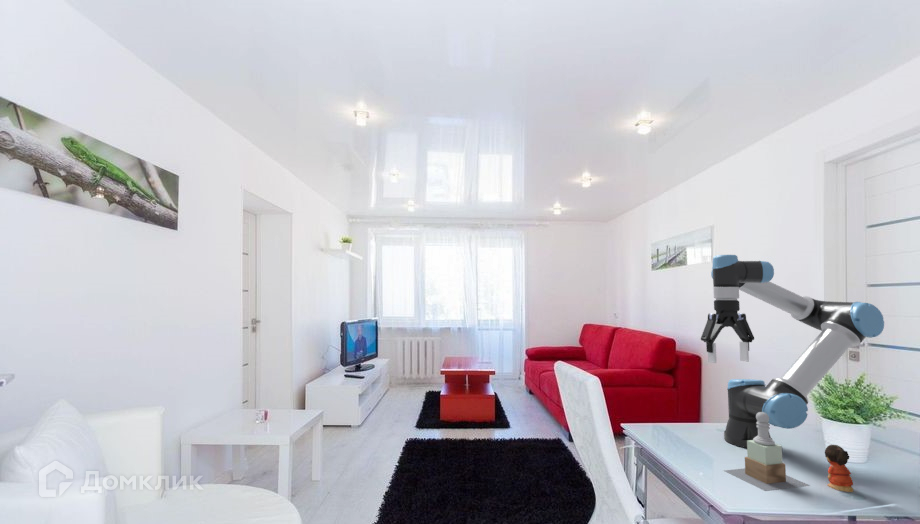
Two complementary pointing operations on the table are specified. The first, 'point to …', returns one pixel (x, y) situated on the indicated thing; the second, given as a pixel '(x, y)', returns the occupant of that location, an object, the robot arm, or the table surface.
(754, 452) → the block top
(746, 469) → the block bottom
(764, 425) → the chess piece
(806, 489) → the table surface
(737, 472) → the mat
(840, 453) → the figurine
